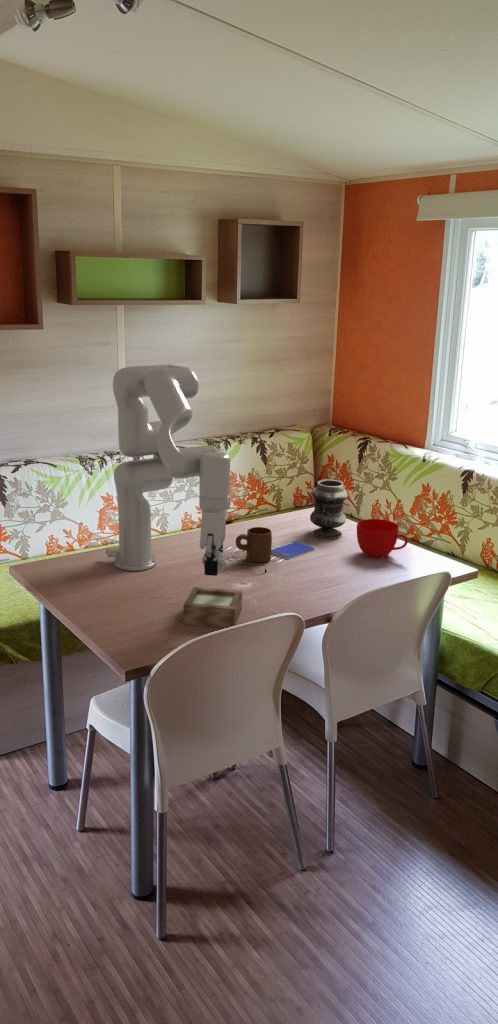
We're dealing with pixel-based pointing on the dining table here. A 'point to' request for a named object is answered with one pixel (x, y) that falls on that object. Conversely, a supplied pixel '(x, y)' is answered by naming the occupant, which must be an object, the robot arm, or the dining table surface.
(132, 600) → the dining table surface
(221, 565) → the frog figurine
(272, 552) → the hard drive
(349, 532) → the dining table surface
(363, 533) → the ceramic cup
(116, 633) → the dining table surface
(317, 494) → the apothecary jar
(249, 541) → the mug
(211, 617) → the pedestal
